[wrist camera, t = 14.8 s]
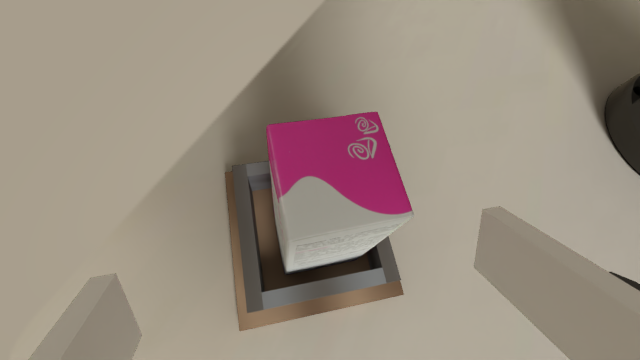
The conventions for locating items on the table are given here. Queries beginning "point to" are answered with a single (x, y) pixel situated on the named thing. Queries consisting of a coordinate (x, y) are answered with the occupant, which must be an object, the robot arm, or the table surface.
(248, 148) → the table surface
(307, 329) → the table surface
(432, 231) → the table surface
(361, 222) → the supplement box
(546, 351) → the table surface
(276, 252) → the socket
